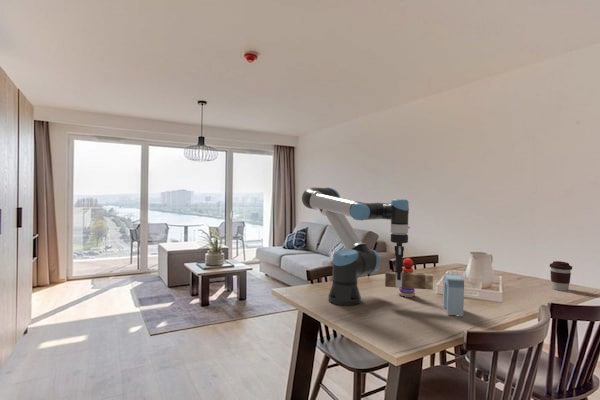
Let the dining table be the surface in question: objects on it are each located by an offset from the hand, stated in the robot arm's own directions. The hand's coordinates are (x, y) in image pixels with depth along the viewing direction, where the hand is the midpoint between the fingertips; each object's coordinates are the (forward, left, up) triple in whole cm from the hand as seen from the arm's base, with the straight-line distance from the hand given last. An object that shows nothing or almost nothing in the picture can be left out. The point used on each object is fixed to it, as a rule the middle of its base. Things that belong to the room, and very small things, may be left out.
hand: (398, 285), depth 154 cm
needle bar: (+4, 0, 0) cm, 4 cm away
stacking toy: (+5, +19, -10) cm, 22 cm away
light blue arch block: (+23, 0, -9) cm, 25 cm away
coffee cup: (+88, +57, -10) cm, 105 cm away
